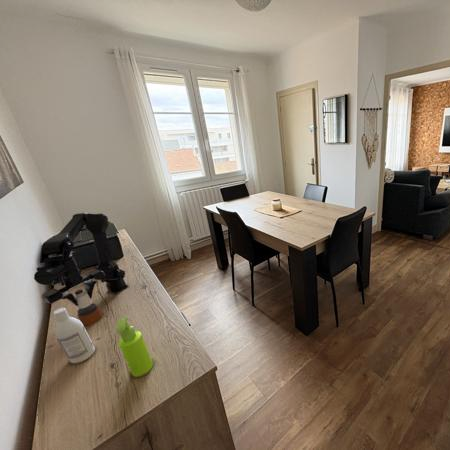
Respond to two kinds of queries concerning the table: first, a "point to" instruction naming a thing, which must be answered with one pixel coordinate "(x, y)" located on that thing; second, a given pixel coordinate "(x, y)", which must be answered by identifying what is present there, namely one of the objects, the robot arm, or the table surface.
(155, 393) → the table surface
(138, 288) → the table surface
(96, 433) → the table surface
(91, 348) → the bath foam
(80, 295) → the white bottle
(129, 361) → the soap dispenser
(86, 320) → the amber bottle
